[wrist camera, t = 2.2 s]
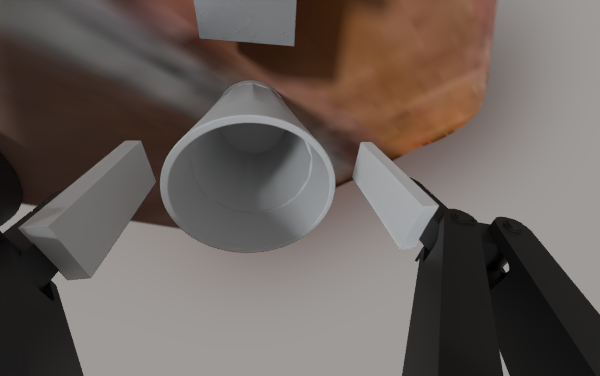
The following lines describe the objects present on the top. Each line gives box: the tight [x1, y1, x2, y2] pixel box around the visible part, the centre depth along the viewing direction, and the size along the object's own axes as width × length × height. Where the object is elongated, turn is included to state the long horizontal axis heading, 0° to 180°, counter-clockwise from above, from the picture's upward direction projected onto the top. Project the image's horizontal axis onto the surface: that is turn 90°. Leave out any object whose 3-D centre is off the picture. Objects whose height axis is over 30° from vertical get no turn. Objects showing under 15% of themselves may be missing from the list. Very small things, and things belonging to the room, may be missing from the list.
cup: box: [160, 80, 335, 253], centre depth 15 cm, size 8×8×12 cm
